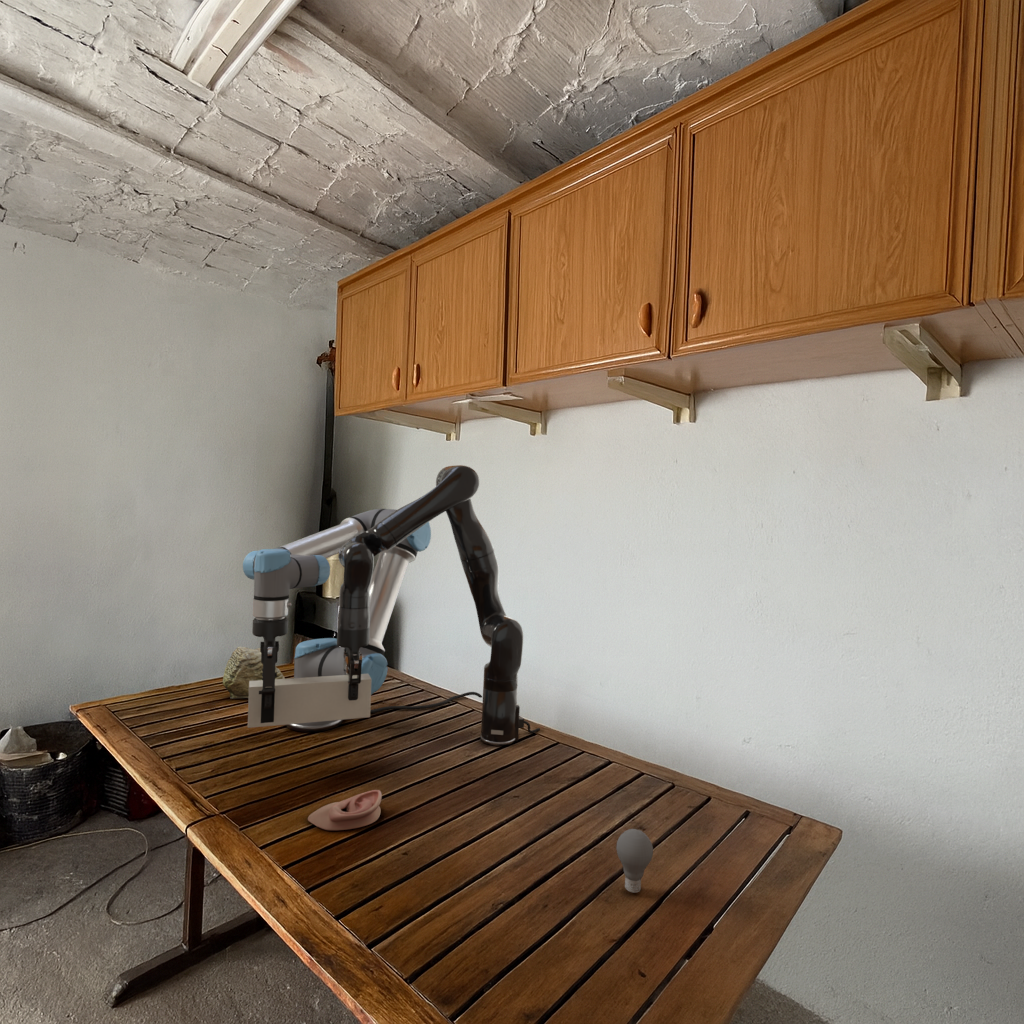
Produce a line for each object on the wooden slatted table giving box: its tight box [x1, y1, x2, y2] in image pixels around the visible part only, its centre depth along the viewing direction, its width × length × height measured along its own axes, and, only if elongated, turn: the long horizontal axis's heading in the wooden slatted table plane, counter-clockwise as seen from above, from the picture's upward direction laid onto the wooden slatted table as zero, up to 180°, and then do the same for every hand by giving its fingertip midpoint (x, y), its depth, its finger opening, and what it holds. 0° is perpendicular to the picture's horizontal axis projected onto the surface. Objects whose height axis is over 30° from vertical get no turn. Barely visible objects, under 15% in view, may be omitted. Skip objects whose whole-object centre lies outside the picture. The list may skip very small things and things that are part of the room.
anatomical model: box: [307, 789, 383, 831], centre depth 126 cm, size 13×4×12 cm
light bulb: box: [615, 828, 654, 894], centre depth 106 cm, size 6×6×10 cm
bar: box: [247, 674, 372, 729], centre depth 148 cm, size 27×5×9 cm, turn 111°
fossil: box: [222, 646, 286, 699], centre depth 198 cm, size 9×18×15 cm, turn 132°
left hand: (267, 713), depth 144 cm, fingers open, 10 cm apart
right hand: (351, 695), depth 151 cm, fingers closed on bar, 5 cm apart
